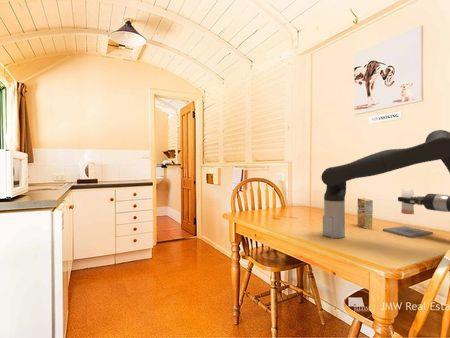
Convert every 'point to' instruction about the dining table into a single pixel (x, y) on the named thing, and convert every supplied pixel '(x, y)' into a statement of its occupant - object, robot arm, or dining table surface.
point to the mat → (407, 231)
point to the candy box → (365, 213)
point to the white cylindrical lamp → (406, 207)
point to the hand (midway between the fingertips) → (402, 198)
